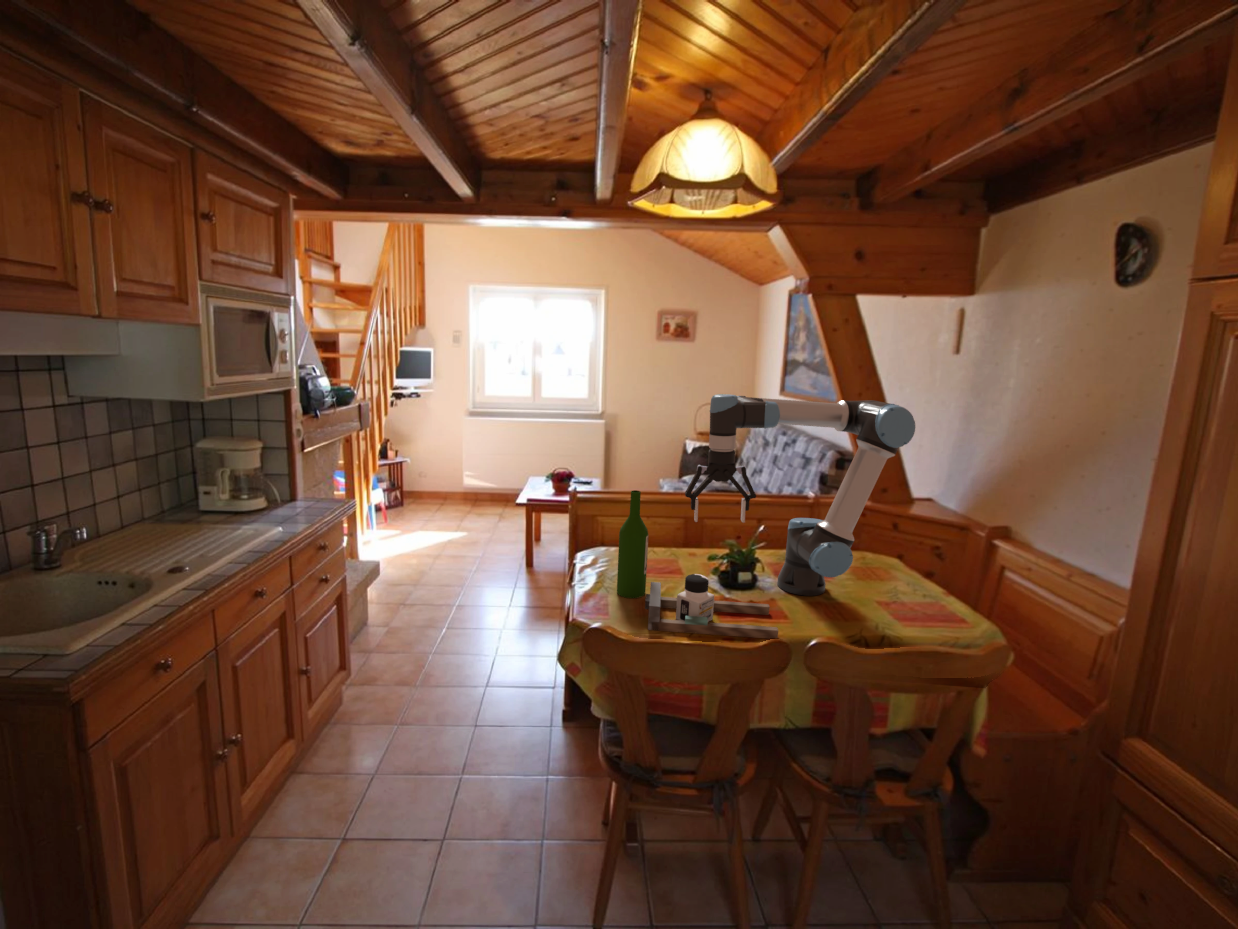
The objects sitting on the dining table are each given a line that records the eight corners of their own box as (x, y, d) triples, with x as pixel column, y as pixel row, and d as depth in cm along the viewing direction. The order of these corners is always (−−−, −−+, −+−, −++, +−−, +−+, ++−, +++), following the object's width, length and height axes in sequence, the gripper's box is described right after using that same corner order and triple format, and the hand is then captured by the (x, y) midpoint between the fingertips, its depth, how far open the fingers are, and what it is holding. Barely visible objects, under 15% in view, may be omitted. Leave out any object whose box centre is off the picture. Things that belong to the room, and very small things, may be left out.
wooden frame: (767, 612, 187) (769, 590, 185) (777, 639, 170) (779, 615, 169) (645, 603, 189) (646, 581, 188) (643, 629, 172) (644, 605, 171)
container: (697, 628, 174) (700, 584, 172) (675, 619, 179) (677, 576, 177) (713, 619, 180) (716, 577, 177) (690, 611, 185) (693, 569, 182)
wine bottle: (648, 598, 193) (653, 495, 186) (619, 598, 192) (623, 495, 185) (642, 586, 202) (647, 487, 195) (614, 587, 200) (618, 487, 194)
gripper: (763, 447, 183) (759, 517, 187) (677, 446, 183) (675, 516, 188) (768, 452, 175) (764, 525, 180) (678, 451, 176) (676, 523, 181)
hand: (719, 520), depth 184 cm, fingers open, 13 cm apart
